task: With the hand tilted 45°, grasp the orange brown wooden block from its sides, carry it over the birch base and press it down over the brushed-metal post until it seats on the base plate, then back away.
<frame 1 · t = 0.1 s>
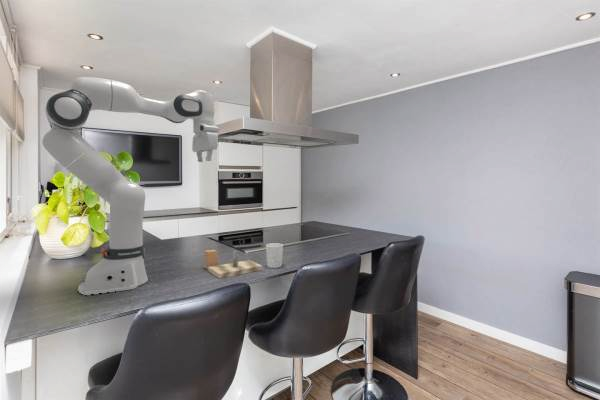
hand: (204, 161, 132), 48 cm above the countertop, tool pointing down, fingers open, 8 cm apart
white cup: (274, 266, 141), on the countertop
orange brown wooden block: (211, 268, 136), on the countertop
post base: (235, 270, 132), on the countertop
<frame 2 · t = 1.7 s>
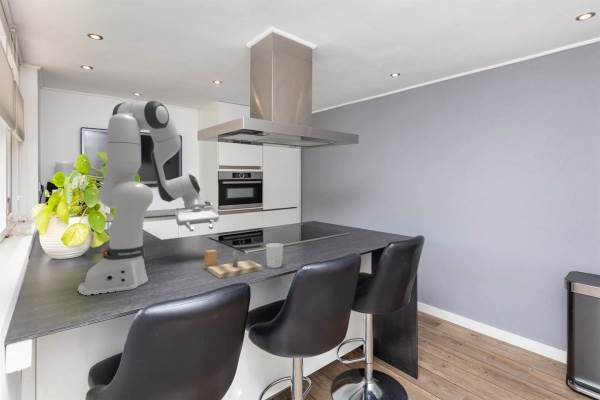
hand: (201, 229, 144), 16 cm above the countertop, tool tilted 45°, fingers open, 8 cm apart
nothing on the countertop moved.
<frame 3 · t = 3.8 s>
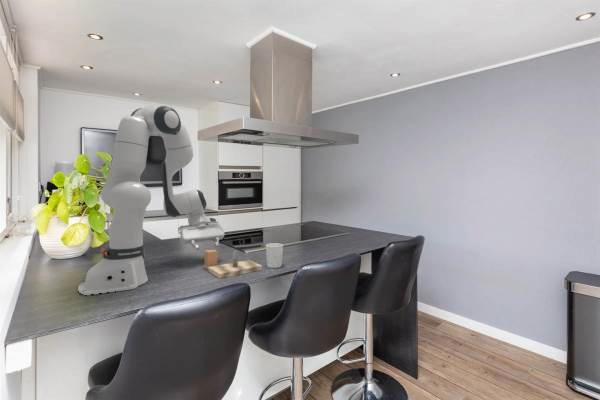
hand: (207, 247, 139), 8 cm above the countertop, tool tilted 45°, fingers open, 8 cm apart
nothing on the countertop moved.
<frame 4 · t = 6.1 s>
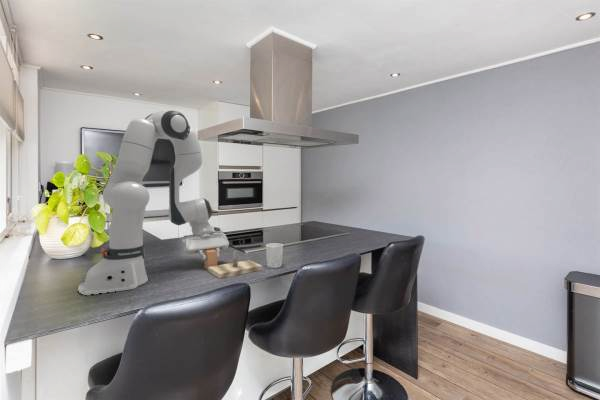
hand: (211, 258, 135), 5 cm above the countertop, tool tilted 45°, fingers closed on orange brown wooden block, 4 cm apart
orange brown wooden block: (211, 268, 136), on the countertop, touching gripper
everything else where it was.
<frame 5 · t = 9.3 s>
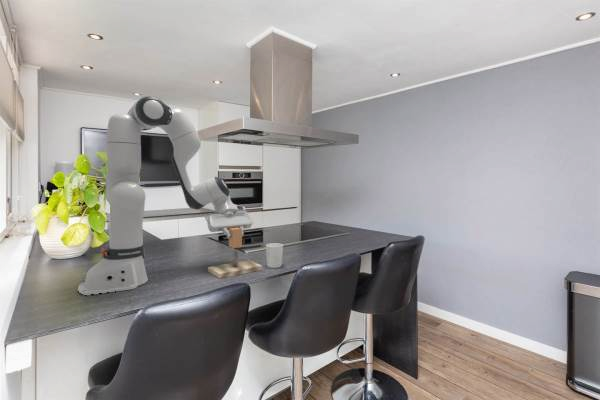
hand: (236, 236, 131), 15 cm above the countertop, tool tilted 45°, fingers closed on orange brown wooden block, 4 cm apart
orange brown wooden block: (235, 246, 132), point 11 cm above the countertop, touching gripper
everything else where it was.
when the fingers open (6 cm above the countertop, at t = 12.4 s): orange brown wooden block stays where it is, resting on post base.
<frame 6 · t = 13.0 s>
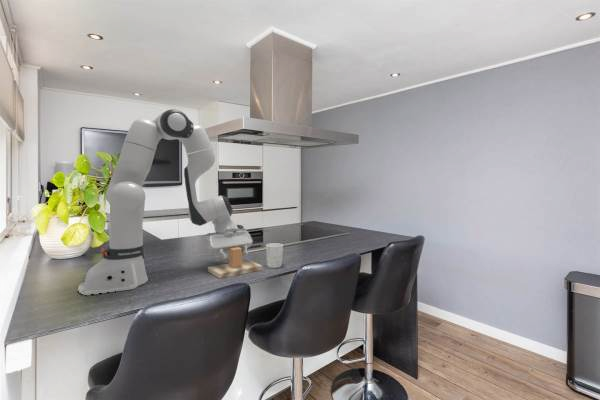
hand: (236, 256, 131), 6 cm above the countertop, tool tilted 45°, fingers open, 8 cm apart
orange brown wooden block: (235, 266, 132), point 2 cm above the countertop, touching post base
everything else where it was.
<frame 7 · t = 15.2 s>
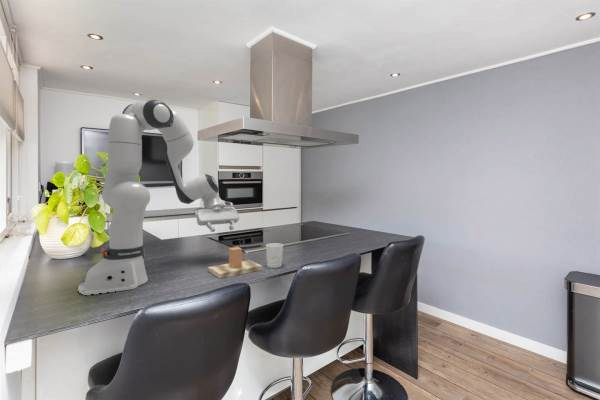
hand: (222, 230, 141), 16 cm above the countertop, tool tilted 45°, fingers open, 8 cm apart
nothing on the countertop moved.
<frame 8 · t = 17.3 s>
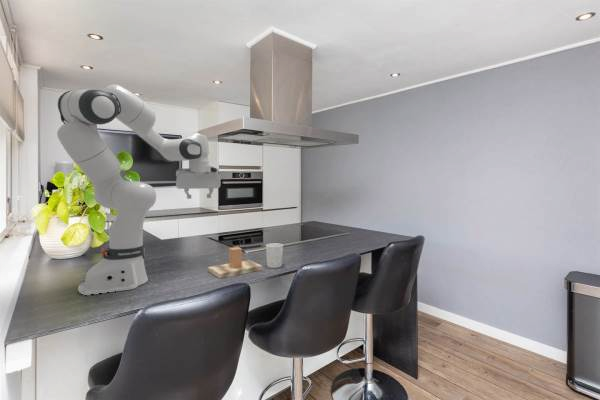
hand: (199, 198, 142), 31 cm above the countertop, tool pointing down, fingers open, 8 cm apart
nothing on the countertop moved.
at the end: orange brown wooden block 0.0 cm off-centre on the post base, point 2.0 cm above the post base's base; orange brown wooden block tilted 0°; the gripper is holding nothing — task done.
